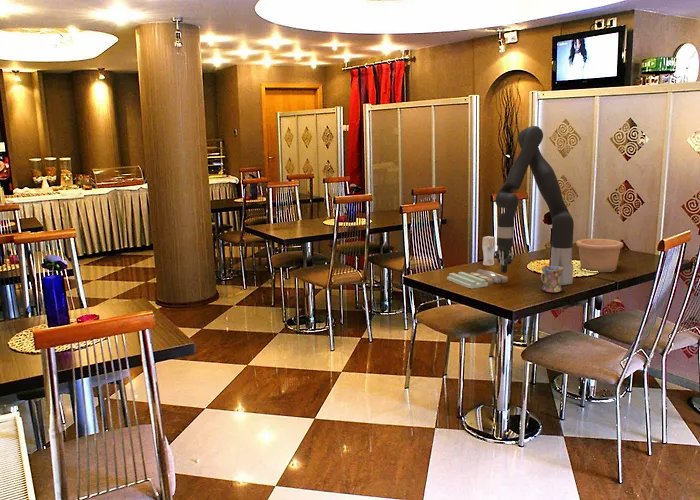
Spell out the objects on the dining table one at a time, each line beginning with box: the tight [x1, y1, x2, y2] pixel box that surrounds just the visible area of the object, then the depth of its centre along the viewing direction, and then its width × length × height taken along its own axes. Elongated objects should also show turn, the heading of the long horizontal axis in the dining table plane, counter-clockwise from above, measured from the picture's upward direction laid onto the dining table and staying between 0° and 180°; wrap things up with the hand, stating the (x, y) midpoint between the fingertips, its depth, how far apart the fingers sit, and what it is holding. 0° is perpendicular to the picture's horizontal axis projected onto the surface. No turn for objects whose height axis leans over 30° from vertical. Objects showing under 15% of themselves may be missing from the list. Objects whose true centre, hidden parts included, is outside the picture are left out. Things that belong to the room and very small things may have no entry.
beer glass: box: [481, 235, 496, 266], centre depth 319 cm, size 7×7×15 cm
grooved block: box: [446, 271, 489, 289], centre depth 282 cm, size 20×10×3 cm, turn 22°
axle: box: [475, 268, 502, 284], centre depth 287 cm, size 16×4×4 cm, turn 22°
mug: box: [540, 265, 564, 294], centre depth 262 cm, size 12×9×11 cm
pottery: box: [575, 238, 624, 273], centre depth 300 cm, size 22×22×14 cm
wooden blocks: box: [468, 270, 509, 286], centre depth 286 cm, size 16×11×2 cm
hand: (503, 272), depth 274 cm, fingers closed
